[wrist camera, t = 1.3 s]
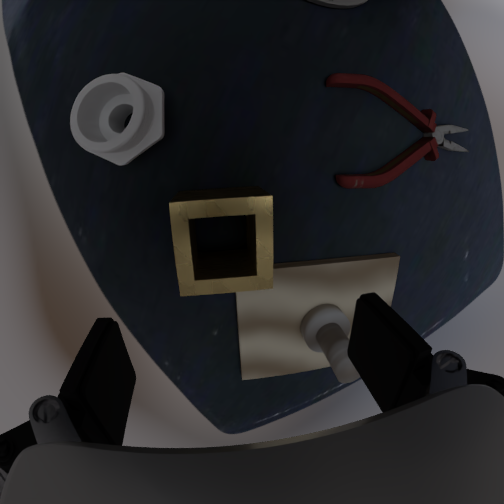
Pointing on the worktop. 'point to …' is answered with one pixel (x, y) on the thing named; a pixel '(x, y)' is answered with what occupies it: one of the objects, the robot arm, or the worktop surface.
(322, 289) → the post stand
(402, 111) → the pliers
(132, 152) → the pipe fitting
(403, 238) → the worktop surface
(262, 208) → the hollow wooden cube
